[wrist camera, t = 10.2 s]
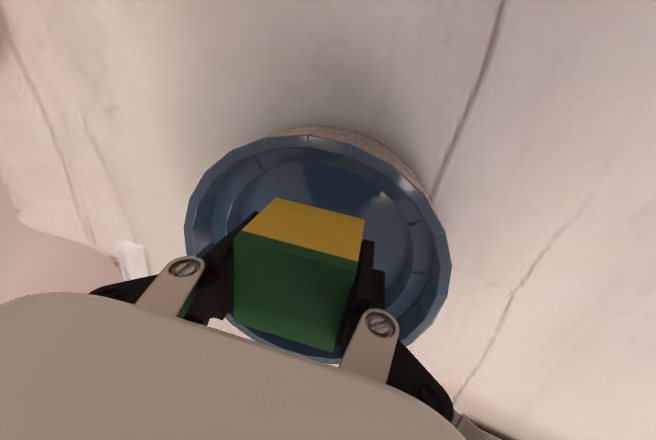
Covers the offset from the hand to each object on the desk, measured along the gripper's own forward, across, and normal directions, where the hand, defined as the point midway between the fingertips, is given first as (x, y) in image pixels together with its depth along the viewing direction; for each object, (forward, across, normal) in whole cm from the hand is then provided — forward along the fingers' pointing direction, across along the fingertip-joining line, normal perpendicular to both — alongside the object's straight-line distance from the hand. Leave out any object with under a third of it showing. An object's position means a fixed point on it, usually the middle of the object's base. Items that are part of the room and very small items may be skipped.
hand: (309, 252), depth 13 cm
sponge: (+1, 0, 0) cm, 1 cm away
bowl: (+6, 0, +3) cm, 7 cm away
